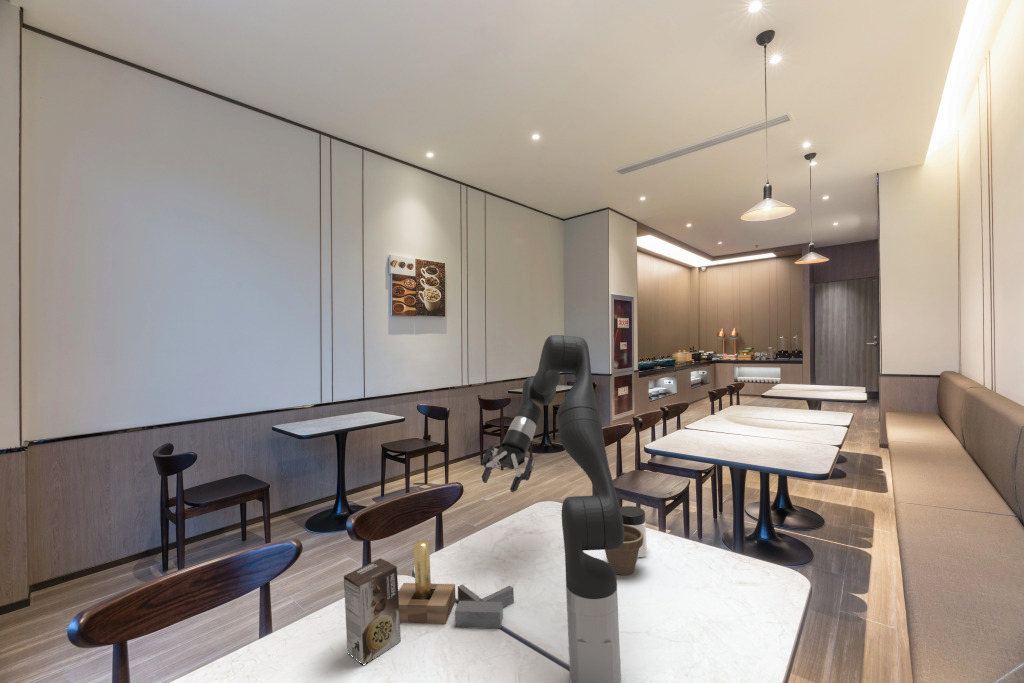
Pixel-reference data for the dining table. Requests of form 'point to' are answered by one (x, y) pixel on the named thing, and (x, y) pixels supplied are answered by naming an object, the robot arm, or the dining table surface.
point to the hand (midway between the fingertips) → (497, 486)
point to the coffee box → (372, 610)
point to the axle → (422, 570)
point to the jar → (635, 523)
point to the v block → (482, 608)
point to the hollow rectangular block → (426, 604)
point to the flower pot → (626, 551)
